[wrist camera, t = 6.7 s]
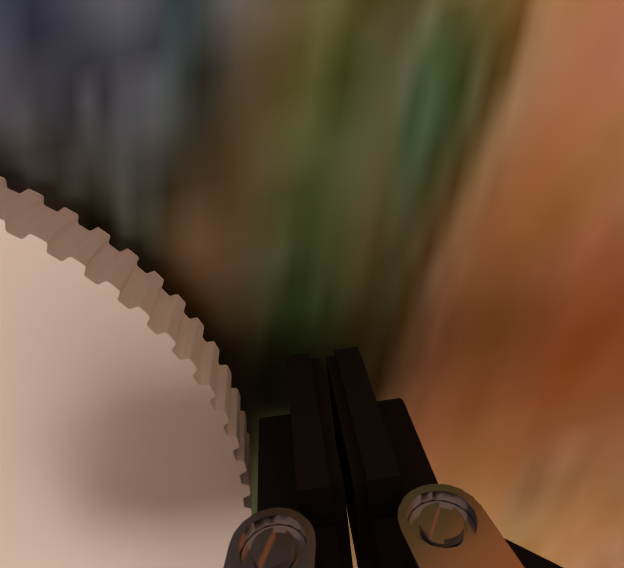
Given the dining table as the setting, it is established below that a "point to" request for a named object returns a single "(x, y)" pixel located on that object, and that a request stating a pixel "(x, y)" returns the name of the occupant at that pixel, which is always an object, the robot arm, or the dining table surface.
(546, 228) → the dining table surface
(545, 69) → the dining table surface
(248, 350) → the dining table surface
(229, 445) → the plastic lid
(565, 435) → the dining table surface
